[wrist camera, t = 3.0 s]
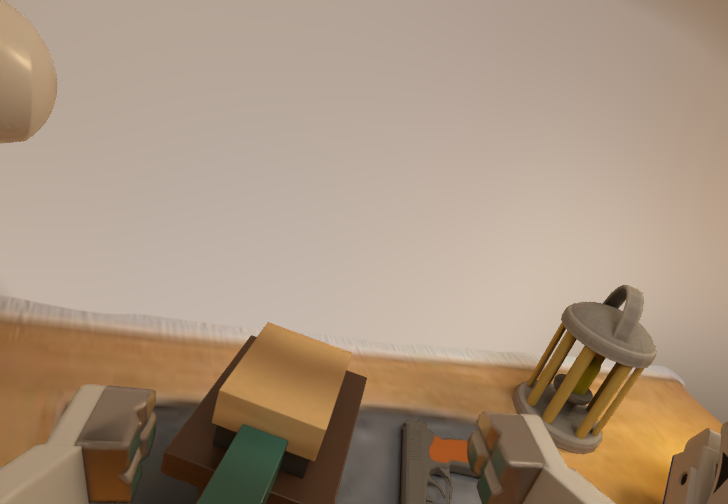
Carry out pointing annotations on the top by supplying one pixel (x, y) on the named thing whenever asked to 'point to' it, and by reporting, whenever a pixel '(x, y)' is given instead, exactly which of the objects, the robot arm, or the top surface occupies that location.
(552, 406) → the lantern
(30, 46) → the robot arm
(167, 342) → the top surface
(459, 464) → the handgun
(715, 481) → the robotic device
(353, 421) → the stand
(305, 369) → the brush
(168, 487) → the top surface
